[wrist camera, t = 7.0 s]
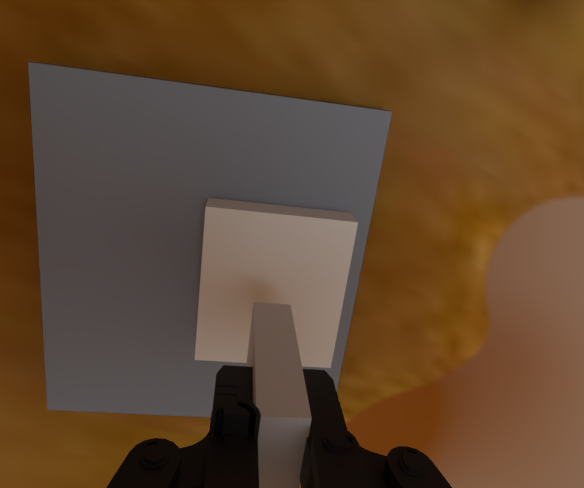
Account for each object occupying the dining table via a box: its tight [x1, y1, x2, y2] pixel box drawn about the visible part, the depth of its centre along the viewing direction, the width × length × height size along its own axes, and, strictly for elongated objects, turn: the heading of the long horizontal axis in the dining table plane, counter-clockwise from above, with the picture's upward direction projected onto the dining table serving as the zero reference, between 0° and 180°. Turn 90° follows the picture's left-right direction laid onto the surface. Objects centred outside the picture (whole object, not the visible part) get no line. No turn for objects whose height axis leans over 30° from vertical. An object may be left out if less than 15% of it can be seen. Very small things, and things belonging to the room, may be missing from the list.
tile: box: [195, 198, 358, 368], centre depth 23 cm, size 8×2×7 cm
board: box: [28, 62, 392, 417], centre depth 24 cm, size 18×16×2 cm
